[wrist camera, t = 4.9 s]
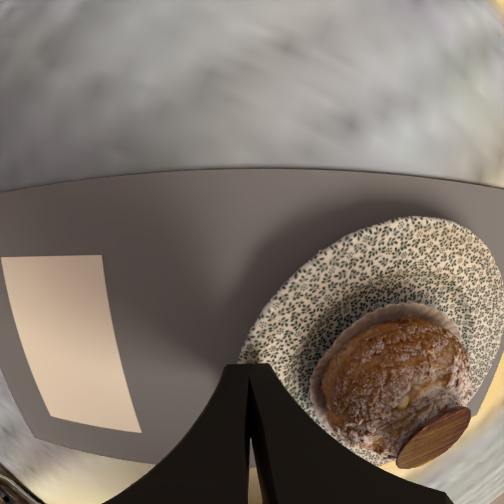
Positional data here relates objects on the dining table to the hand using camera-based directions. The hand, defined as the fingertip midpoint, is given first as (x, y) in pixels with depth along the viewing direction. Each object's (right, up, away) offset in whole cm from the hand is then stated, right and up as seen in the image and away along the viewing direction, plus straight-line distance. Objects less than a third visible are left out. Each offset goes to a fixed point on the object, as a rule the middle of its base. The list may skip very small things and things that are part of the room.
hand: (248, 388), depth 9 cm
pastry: (+5, 0, +2) cm, 6 cm away
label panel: (+1, 0, +2) cm, 2 cm away
